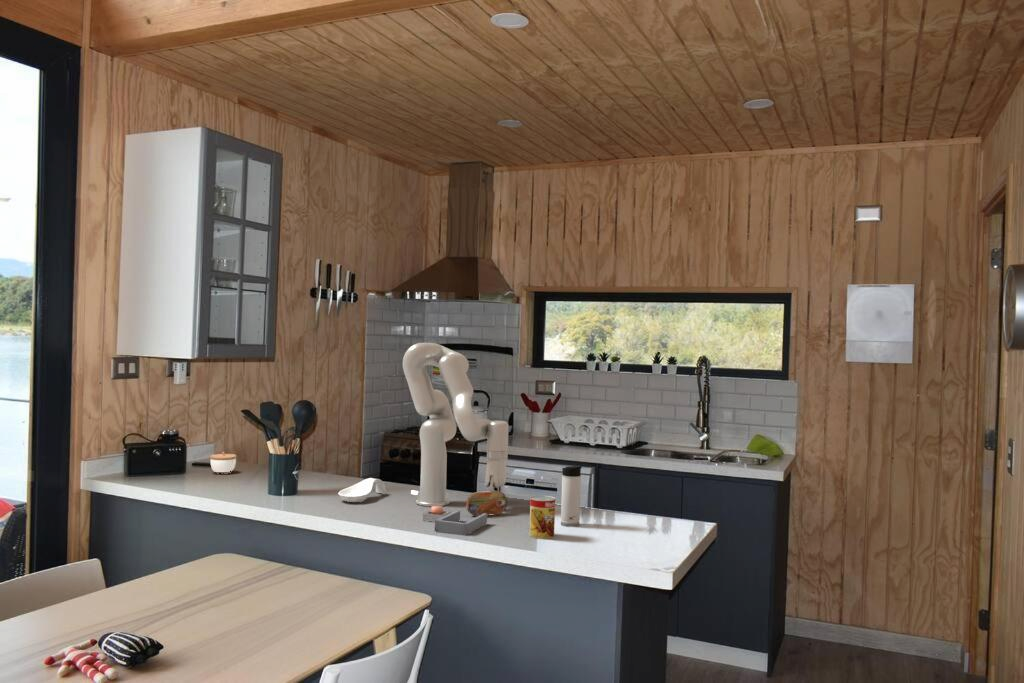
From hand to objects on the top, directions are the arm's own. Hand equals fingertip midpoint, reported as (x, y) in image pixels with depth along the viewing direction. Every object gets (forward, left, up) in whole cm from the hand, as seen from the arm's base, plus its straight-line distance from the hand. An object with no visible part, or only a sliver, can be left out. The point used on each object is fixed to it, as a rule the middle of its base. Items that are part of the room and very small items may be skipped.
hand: (495, 505), depth 293 cm
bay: (0, -30, -2) cm, 30 cm away
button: (-12, -24, 0) cm, 27 cm away
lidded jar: (-133, +15, -2) cm, 134 cm away
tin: (0, -9, -2) cm, 9 cm away
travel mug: (+31, -10, -2) cm, 33 cm away
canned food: (+27, -29, -2) cm, 40 cm away
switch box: (-12, -24, -2) cm, 27 cm away
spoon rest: (-52, -5, -2) cm, 52 cm away
